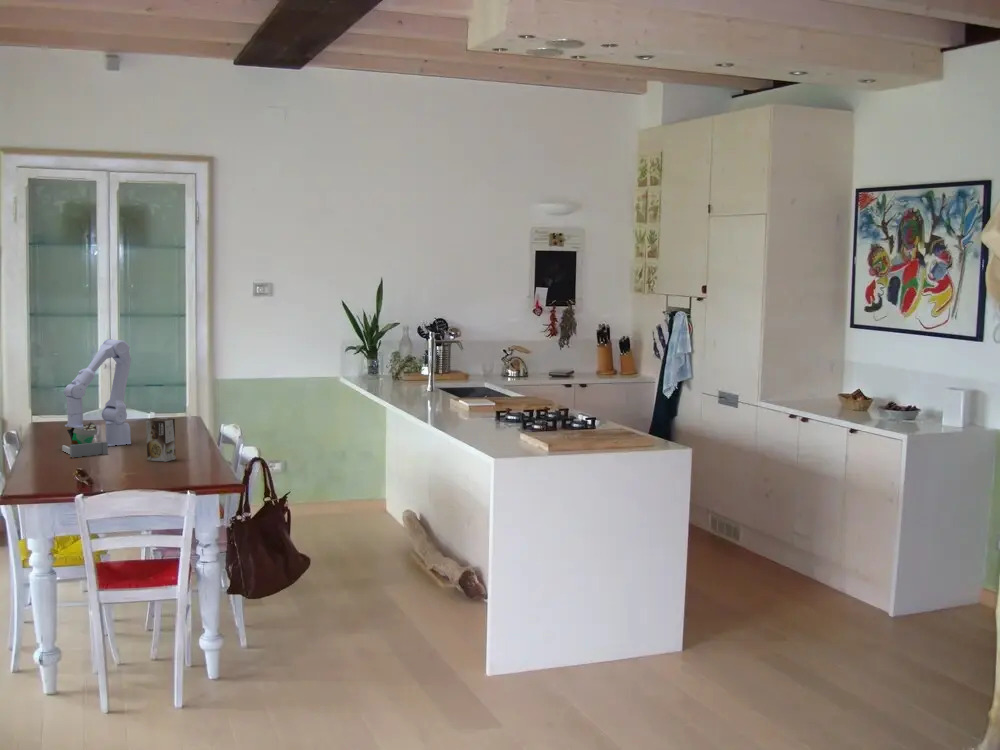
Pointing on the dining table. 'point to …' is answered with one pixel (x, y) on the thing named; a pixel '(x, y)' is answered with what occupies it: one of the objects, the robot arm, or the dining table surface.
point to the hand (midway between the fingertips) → (75, 446)
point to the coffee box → (160, 439)
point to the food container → (84, 434)
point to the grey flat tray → (86, 449)
